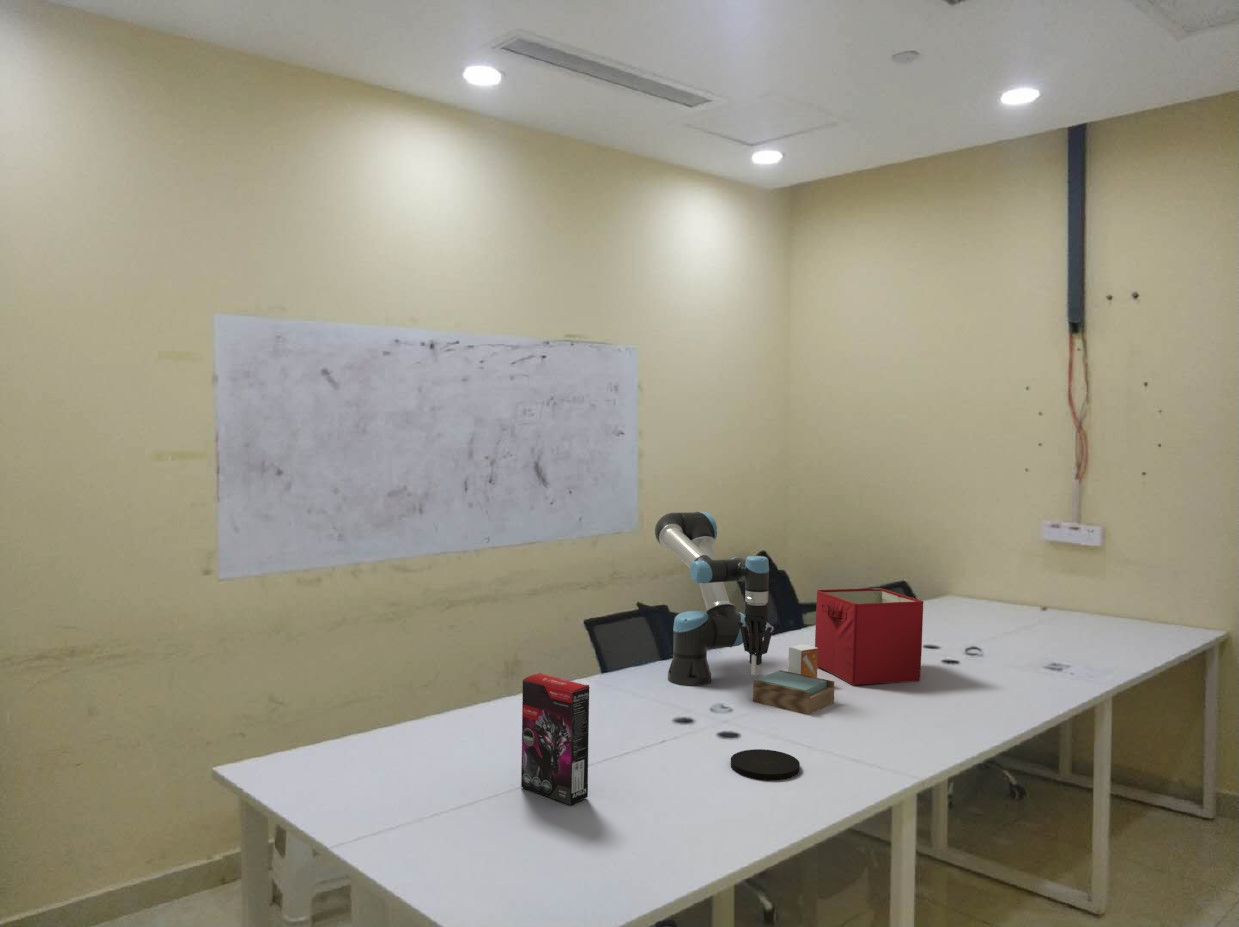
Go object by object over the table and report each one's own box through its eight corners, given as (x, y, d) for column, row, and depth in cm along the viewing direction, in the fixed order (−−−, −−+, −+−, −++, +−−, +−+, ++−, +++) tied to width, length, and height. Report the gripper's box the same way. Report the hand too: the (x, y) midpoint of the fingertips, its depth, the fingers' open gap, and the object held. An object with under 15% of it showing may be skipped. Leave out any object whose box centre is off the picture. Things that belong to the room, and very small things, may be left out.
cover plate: (755, 685, 302) (755, 679, 301) (777, 676, 312) (777, 670, 312) (805, 696, 290) (805, 690, 290) (826, 687, 301) (826, 681, 301)
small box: (800, 688, 317) (801, 650, 316) (787, 683, 322) (788, 646, 321) (817, 685, 321) (818, 647, 321) (804, 680, 326) (805, 643, 326)
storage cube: (881, 661, 355) (883, 586, 353) (927, 681, 329) (929, 599, 327) (806, 667, 345) (808, 589, 343) (847, 687, 318) (849, 603, 317)
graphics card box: (518, 787, 227) (519, 677, 226) (538, 779, 233) (539, 671, 231) (570, 807, 217) (572, 691, 215) (590, 798, 222) (591, 684, 221)
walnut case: (752, 701, 301) (753, 680, 300) (779, 690, 314) (780, 669, 313) (808, 715, 288) (808, 692, 288) (833, 702, 301) (834, 681, 301)
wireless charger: (753, 751, 256) (753, 744, 256) (811, 767, 245) (812, 760, 245) (717, 769, 242) (717, 762, 242) (777, 787, 231) (777, 779, 231)
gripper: (733, 602, 310) (732, 672, 311) (767, 607, 302) (766, 679, 302) (746, 599, 316) (744, 668, 317) (779, 604, 307) (778, 675, 308)
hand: (755, 673), depth 309 cm, fingers closed
